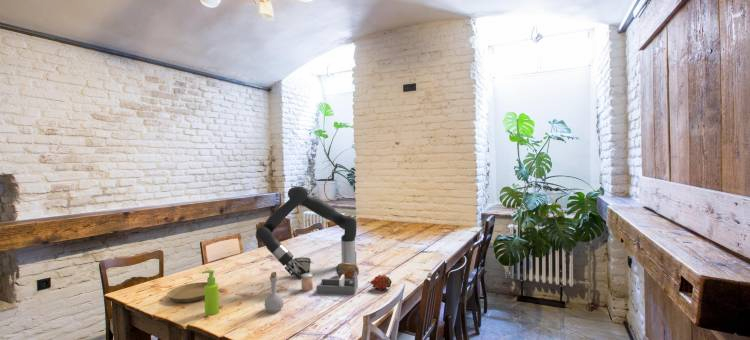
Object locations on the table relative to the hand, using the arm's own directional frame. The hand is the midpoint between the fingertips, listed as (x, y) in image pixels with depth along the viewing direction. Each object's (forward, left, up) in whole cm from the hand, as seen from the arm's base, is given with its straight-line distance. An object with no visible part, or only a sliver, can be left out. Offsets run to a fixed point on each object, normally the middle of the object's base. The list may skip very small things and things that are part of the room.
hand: (303, 276), depth 194 cm
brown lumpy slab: (-30, -4, -8) cm, 31 cm away
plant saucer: (+52, -24, -8) cm, 58 cm away
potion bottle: (+21, +18, -7) cm, 29 cm away
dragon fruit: (-36, +24, -7) cm, 44 cm away
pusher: (-17, +13, -6) cm, 22 cm away
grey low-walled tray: (-16, +12, -7) cm, 21 cm away
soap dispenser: (+47, +5, -7) cm, 48 cm away
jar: (-2, +1, -7) cm, 8 cm away
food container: (-9, -24, -7) cm, 27 cm away
